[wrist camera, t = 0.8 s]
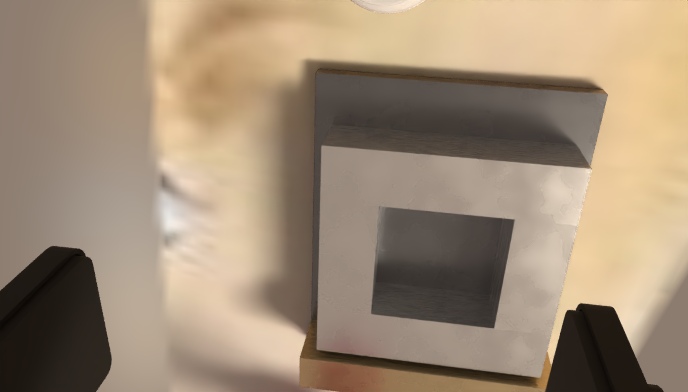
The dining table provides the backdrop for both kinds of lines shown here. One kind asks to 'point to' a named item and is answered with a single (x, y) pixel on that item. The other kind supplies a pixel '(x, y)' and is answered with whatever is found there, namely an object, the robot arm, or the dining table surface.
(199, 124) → the dining table surface
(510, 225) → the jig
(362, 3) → the supplement bottle
